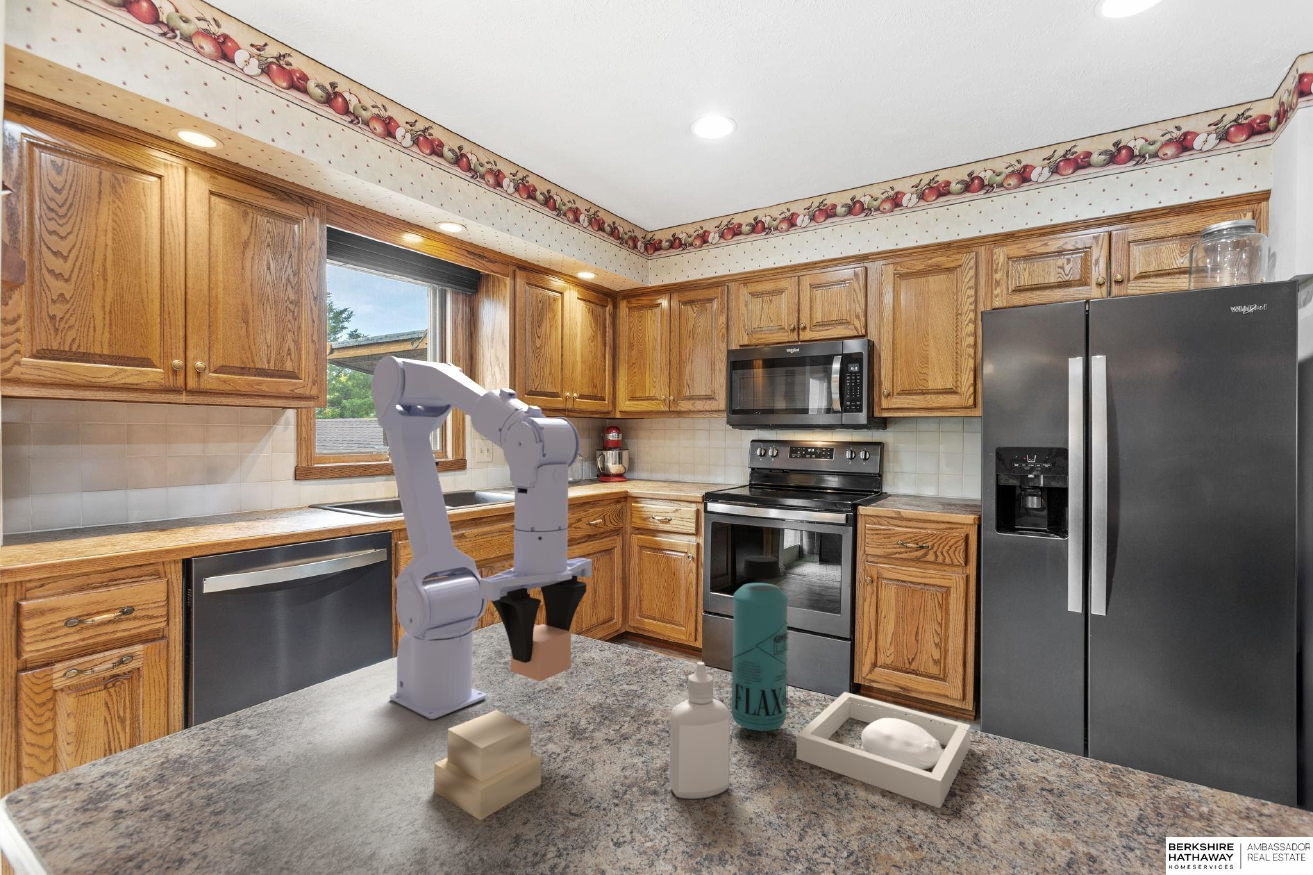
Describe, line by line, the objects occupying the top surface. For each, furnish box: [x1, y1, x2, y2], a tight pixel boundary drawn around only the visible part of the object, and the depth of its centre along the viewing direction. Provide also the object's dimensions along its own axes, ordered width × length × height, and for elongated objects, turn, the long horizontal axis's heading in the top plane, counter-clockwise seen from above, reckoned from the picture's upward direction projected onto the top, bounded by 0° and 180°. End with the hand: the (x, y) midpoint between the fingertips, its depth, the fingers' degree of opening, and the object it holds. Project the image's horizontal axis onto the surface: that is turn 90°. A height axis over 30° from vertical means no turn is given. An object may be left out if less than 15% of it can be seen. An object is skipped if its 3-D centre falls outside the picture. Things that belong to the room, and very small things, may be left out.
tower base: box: [433, 752, 542, 821], centre depth 58 cm, size 7×7×3 cm
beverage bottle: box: [729, 555, 789, 731], centre depth 70 cm, size 6×7×20 cm
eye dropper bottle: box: [668, 661, 731, 800], centre depth 58 cm, size 4×6×12 cm
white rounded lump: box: [860, 718, 944, 771], centre depth 64 cm, size 8×7×4 cm
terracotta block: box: [510, 623, 572, 682], centre depth 66 cm, size 4×4×4 cm
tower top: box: [446, 709, 532, 782], centre depth 58 cm, size 6×6×3 cm
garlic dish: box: [796, 691, 971, 809], centre depth 66 cm, size 14×14×2 cm
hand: (539, 653), depth 66 cm, fingers closed on terracotta block, 4 cm apart
